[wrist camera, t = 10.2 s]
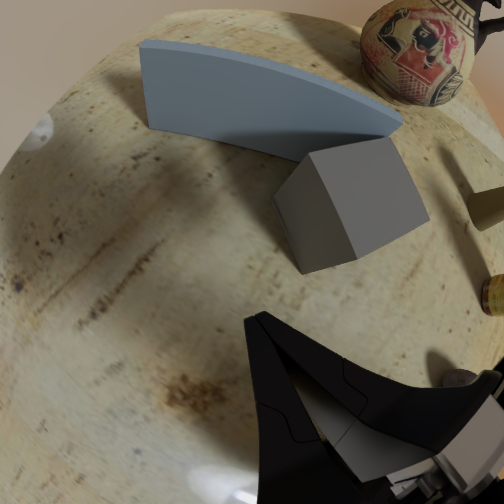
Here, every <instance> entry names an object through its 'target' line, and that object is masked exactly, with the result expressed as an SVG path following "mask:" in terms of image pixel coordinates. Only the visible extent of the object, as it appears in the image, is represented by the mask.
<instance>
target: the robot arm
mask: <svg viewBox="0 0 504 504" xmlns="http://www.w3.org/2000/svg"><path fill="white" fill-rule="evenodd" d="M243 322H244V329H245V336H246V343H247V350H248V357H249V364H250V371H251V377H252V384H253V391H254V397H255V402H256V403H255V404H256V411H257V419H258V431H259V481H258V495H257V504H504V479H502V480H500V479H499V477H498V476H497V475H498V473H499V472H500V471H501V469H502V468H503V467H504V356H503V357H502V358H501V359H500V360H499V361H498V363H497V364H496V365H495V366H494V368H493V369H492V370H483V371H482V372H481V373H480V374H479V375H478V376H477V377H476V378H475V379H474V380H473V381H472V382H471V383H470V384H469V385H466V386H458V387H436V388H418V387H411V386H407V385H404V384H402V383H399V382H396V381H394V380H391V379H389V378H386V377H383V376H381V375H378V374H376V373H374V372H371V371H369V370H367V369H364V368H362V367H360V366H358V365H357V364H355V363H353V362H351V361H349V360H347V359H346V358H342V356H340V355H338V354H337V353H335V352H333V351H331V350H330V349H328V348H326V347H325V346H323V345H321V344H319V343H318V342H316V341H314V340H313V339H311V338H309V337H307V336H306V335H304V334H302V333H301V332H299V331H297V330H296V329H294V328H292V327H291V326H289V325H287V324H286V323H284V322H283V321H281V320H279V319H278V318H276V317H274V316H273V315H271V314H269V313H268V312H266V311H262V312H260V313H257V314H255V315H254V316H250V317H248V318H245V319H244V320H243ZM309 415H310V416H311V418H312V419H313V420H314V422H315V423H316V425H317V426H318V427H319V429H320V430H321V431H322V432H323V434H324V435H325V436H326V438H327V439H328V440H327V441H322V440H321V438H320V436H319V434H318V432H317V430H316V428H315V426H314V424H313V422H312V420H311V418H310V416H309Z"/></svg>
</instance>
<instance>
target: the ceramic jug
mask: <svg viewBox="0 0 504 504" xmlns="http://www.w3.org/2000/svg"><path fill="white" fill-rule="evenodd" d="M484 1H487V2H489V3H490V4H492V5H493V6H495V7H496V8H498V9H500V8H501V0H394V1H392V2H390V3H388V4H387V5H384V6H383V7H382V8H381V9H379V10H377V12H375V13H374V14H373V15H372V16H371V17H370V18H369V19H368V21H367V22H366V24H365V26H364V27H363V29H362V34H361V39H360V51H361V55H362V60H363V63H362V67H361V72H362V75H363V77H364V79H365V80H366V82H367V83H368V85H369V86H370V87H372V88H373V89H374V91H375V92H376V93H377V94H378V95H380V96H381V97H382V98H384V99H385V100H386V101H388V102H390V103H392V104H395V105H397V106H402V107H410V106H412V105H419V106H426V107H435V106H438V105H442V104H445V103H446V102H448V101H450V100H451V99H452V98H453V97H455V96H456V95H457V94H458V92H459V91H460V90H461V89H462V87H463V86H464V85H465V83H466V82H467V80H468V78H469V76H470V74H471V69H472V66H473V63H474V60H475V55H476V54H477V52H478V51H479V49H480V48H481V46H482V45H483V43H484V41H485V39H486V37H487V35H489V34H491V33H494V32H500V31H503V30H504V17H501V18H498V19H490V20H485V21H482V22H481V21H480V20H479V17H480V11H481V6H482V3H483V2H484Z"/></svg>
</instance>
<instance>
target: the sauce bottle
mask: <svg viewBox="0 0 504 504" xmlns="http://www.w3.org/2000/svg"><path fill="white" fill-rule="evenodd" d="M482 304H483V309H484V312H485V313H486V314H487V315H489V316H495V317H501V316H504V274H500V275H495V276H493V277H490V278H488V279H487V280H486V282H485V283H484V285H483V292H482Z"/></svg>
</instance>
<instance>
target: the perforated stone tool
mask: <svg viewBox="0 0 504 504" xmlns="http://www.w3.org/2000/svg"><path fill="white" fill-rule="evenodd" d="M477 376H478V375H477V374H475V373H473V372H471V371H468V370H464V369H453V370H449V371H447V372H446V373H445V375H444V377H443V387H458V386H466V385H469V384H470V383H471V382H472V381H473V380H474V379H475V378H476V377H477Z"/></svg>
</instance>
